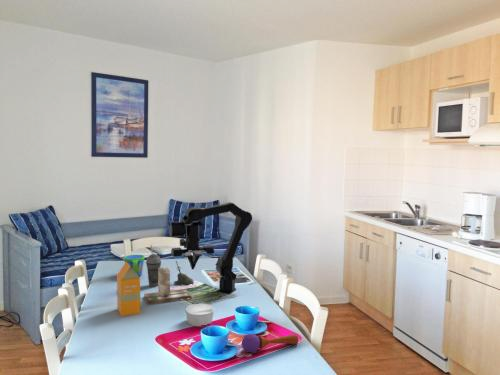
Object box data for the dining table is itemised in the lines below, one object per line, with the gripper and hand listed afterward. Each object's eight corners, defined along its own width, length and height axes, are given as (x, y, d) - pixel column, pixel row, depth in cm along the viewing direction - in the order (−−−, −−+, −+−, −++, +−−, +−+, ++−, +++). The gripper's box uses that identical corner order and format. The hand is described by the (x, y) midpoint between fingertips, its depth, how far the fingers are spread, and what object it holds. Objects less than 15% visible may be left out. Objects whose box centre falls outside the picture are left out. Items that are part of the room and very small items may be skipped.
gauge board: (185, 292, 200) (185, 288, 199) (191, 298, 190) (191, 294, 190) (144, 297, 192) (144, 292, 192) (148, 304, 183) (148, 300, 183)
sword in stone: (193, 280, 218) (193, 257, 217) (194, 285, 211) (194, 262, 209) (173, 281, 216) (173, 258, 215) (174, 286, 209) (174, 263, 207)
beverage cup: (157, 288, 204) (157, 247, 202) (143, 287, 206) (143, 246, 204) (163, 283, 211) (163, 244, 210) (150, 282, 213) (149, 243, 211)
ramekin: (202, 330, 157) (202, 316, 157) (179, 323, 163) (179, 310, 163) (220, 320, 167) (220, 307, 166) (197, 314, 173) (197, 301, 172)
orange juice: (121, 316, 169) (120, 267, 168) (117, 309, 177) (116, 261, 176) (140, 313, 173) (140, 264, 171) (136, 306, 181) (135, 259, 179)
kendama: (301, 336, 144) (247, 341, 137) (298, 351, 146) (244, 357, 138) (293, 326, 150) (240, 330, 142) (290, 341, 151) (238, 346, 143)
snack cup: (125, 272, 231) (124, 253, 230) (145, 271, 234) (145, 252, 233) (123, 280, 216) (122, 260, 215) (144, 279, 218) (144, 259, 217)
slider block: (167, 291, 194) (167, 267, 193) (171, 296, 187) (171, 271, 186) (158, 292, 192) (158, 267, 192) (162, 297, 185) (161, 272, 184)
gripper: (207, 231, 204) (207, 263, 206) (168, 233, 197) (168, 266, 199) (214, 235, 194) (214, 269, 196) (173, 238, 187) (174, 273, 188)
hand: (192, 269), depth 195 cm, fingers closed
